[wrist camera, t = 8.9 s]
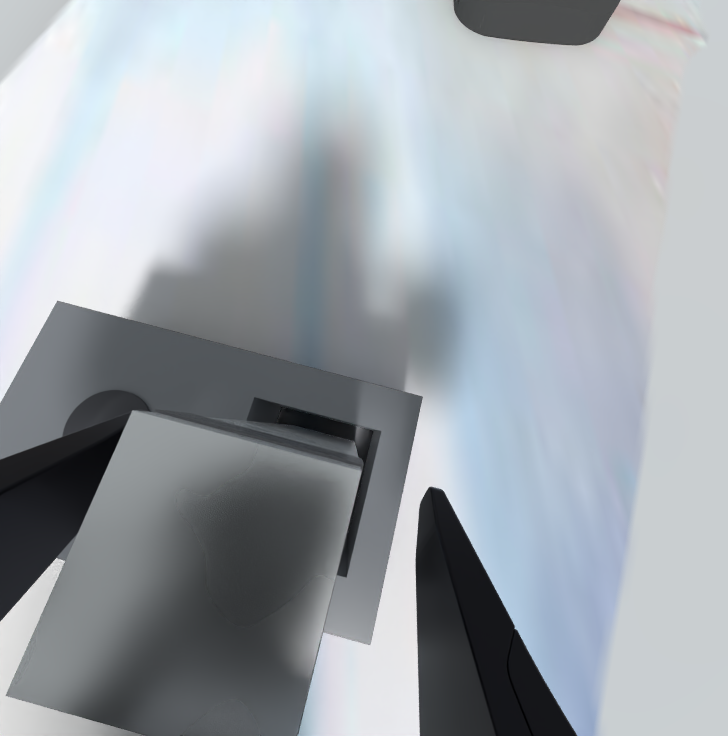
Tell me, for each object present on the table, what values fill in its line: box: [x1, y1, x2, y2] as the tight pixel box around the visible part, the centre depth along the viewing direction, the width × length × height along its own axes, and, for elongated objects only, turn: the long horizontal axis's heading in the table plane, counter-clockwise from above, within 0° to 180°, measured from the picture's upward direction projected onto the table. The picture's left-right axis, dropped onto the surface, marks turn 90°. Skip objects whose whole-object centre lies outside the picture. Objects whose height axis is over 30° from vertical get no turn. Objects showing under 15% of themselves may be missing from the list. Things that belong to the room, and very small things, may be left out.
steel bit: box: [6, 409, 364, 736], centre depth 11 cm, size 4×4×13 cm
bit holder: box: [0, 301, 423, 645], centre depth 14 cm, size 10×18×5 cm, turn 75°
